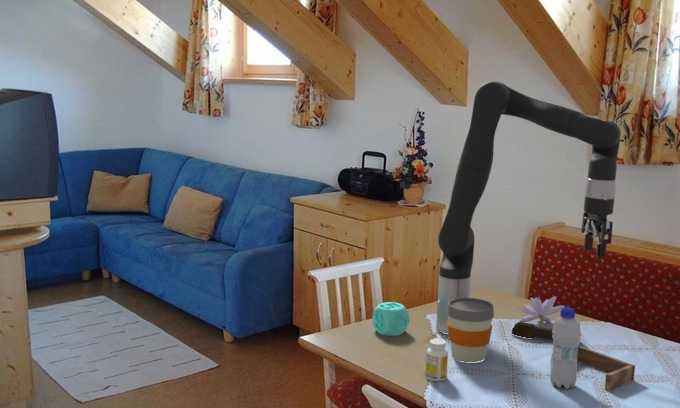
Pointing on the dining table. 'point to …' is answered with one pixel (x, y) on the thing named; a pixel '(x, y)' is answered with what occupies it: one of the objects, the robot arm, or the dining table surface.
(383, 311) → the decorative dice
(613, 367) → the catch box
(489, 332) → the reusable coffee cup
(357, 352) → the dining table surface
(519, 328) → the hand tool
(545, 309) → the water lily
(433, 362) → the supplement bottle
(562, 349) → the bottle
